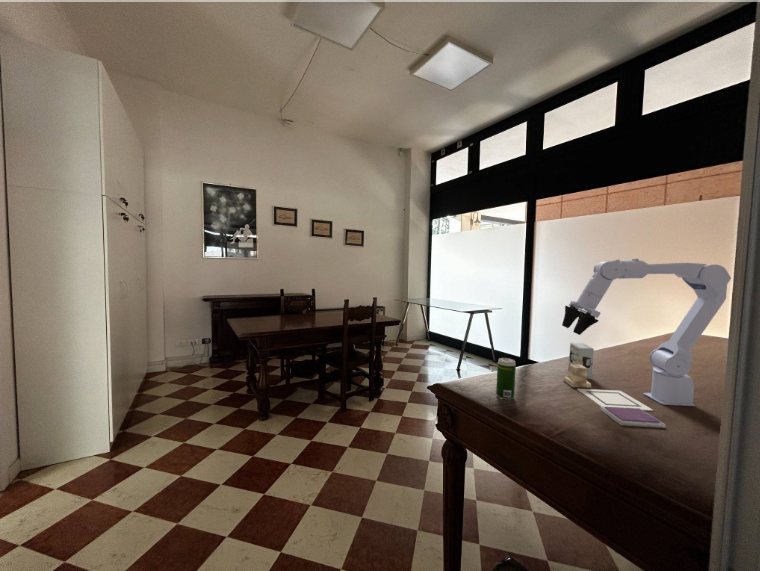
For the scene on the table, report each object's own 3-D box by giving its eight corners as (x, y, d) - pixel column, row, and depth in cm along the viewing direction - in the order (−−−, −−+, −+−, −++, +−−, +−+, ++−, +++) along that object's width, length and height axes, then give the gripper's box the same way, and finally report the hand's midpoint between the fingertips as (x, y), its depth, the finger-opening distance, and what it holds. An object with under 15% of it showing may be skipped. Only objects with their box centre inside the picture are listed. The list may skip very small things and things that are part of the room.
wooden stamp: (580, 382, 113) (582, 364, 112) (590, 389, 107) (592, 369, 106) (563, 382, 113) (564, 363, 113) (572, 388, 107) (573, 368, 107)
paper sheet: (620, 391, 105) (620, 390, 105) (653, 411, 91) (653, 409, 91) (577, 389, 106) (577, 388, 106) (603, 408, 92) (603, 407, 92)
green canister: (517, 400, 96) (519, 363, 96) (500, 400, 96) (502, 362, 95) (509, 393, 102) (511, 357, 101) (493, 393, 102) (494, 357, 101)
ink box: (567, 370, 125) (569, 342, 125) (580, 371, 125) (582, 342, 124) (578, 378, 117) (580, 347, 116) (592, 379, 116) (594, 348, 115)
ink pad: (639, 411, 91) (639, 407, 90) (665, 427, 82) (665, 423, 81) (599, 409, 91) (600, 405, 91) (620, 425, 82) (621, 420, 82)
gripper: (570, 286, 110) (550, 319, 112) (594, 293, 96) (570, 331, 98) (588, 294, 110) (567, 327, 112) (615, 303, 95) (591, 341, 98)
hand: (570, 330), depth 105 cm, fingers open, 7 cm apart
